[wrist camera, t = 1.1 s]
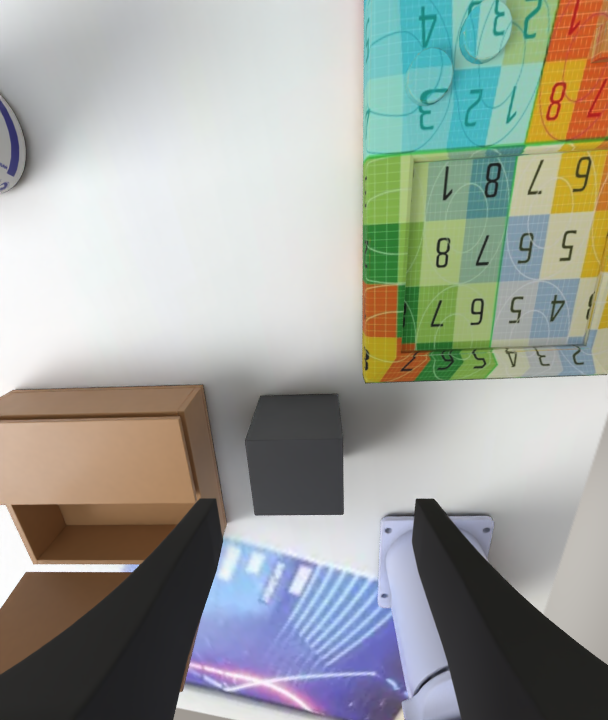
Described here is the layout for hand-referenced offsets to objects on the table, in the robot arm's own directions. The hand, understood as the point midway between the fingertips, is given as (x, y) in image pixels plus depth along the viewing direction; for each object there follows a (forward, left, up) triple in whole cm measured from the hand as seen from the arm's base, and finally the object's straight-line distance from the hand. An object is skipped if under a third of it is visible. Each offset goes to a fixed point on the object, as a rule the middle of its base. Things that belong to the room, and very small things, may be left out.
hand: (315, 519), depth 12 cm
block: (-3, +1, -10) cm, 11 cm away
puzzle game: (+12, -8, -10) cm, 18 cm away
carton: (-5, +14, -10) cm, 18 cm away
